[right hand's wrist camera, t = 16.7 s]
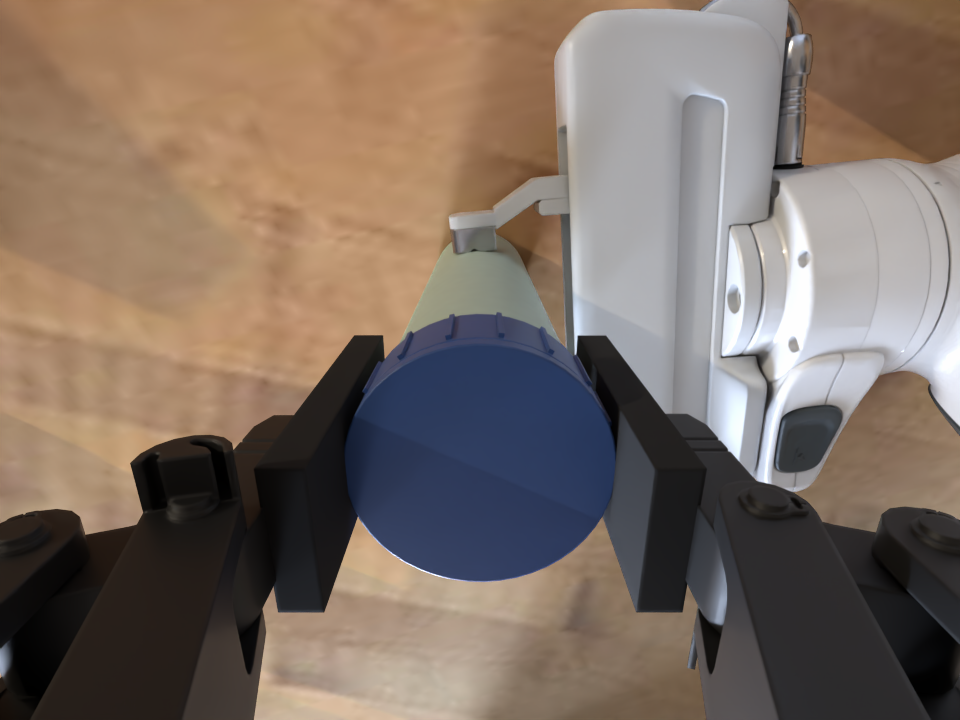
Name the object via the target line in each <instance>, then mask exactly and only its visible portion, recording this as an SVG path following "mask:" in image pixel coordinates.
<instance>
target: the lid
mask: <svg viewBox="0 0 960 720" xmlns="http://www.w3.org/2000/svg"><path fill="white" fill-rule="evenodd" d="M591 385H592V382H591V380H590V378H589V376H588V374H587V372H586V371H585V369H584V367H583V365H582V363H581V361H580V359H579V357H578V356H577V355H574V356H572V354H571V353H570V352H569V351H568V350H567V349H566V348H565V347H564V346H563V345H562V344H561V343H559V342H558V341H557V340H556V339H555V338H553V337H552V336H551V335H549V334H547V331H546V329H545V328H544V327H542V326H541V327H540V329H539V328H537V327H535V326H533V325H531V324H528V323H526V322H524V321H520V320H517V319H514V318H510V317H506V316H502V313H500V312H497V313H496V315H493V314H469V315H460V316H455V314H450V315H449V318H446V319H443V320H440V321H437V322H434V323H432V324H429V325H427V326H425V327H423V328H421V329H420V330H418V331H416V332H414V333H412V331H410V332H408V333H407V335H406V337H405V339H404V340H403V341H402V342H401V343H400V344H399V345H398V346H396V347H395V348H394V349H393V350H392V351H391V352H390V354H389V355H388V356H387V357H386V359H385V360H384V361H383V362H380V361H379V362H378V363H377V365H376V367H375V369H374V371H373V372H372V374H371V376H370V378H369V380H368V382H367V384H366V386H365V387H364V389H363V391H362V392H364V393H365V395H364V397H363V399H362V401H361V403H360V405H359V407H358V409H357V411H356V413H355V415H354V417H353V420H352V422H351V424H350V427H349V429H348V433H347V437H346V441H345V446H344V455H345V466H346V476H347V486H348V494H349V497H350V500H351V503H352V505H353V508H354V510H355V511H356V513H357V515H358V517H359V519H360V521H361V522H362V523H363V525H364V526H365V527H366V529H367V530H368V532H369V533H370V534H371V535H372V536H373V537H374V538H375V539H376V540H377V541H378V542H379V543H380V544H381V545H382V546H383V547H384V548H386V549H387V550H388V551H389V552H390V553H392V554H393V555H394V556H396V557H398V558H399V559H401V560H402V561H404V562H405V563H407V564H409V565H411V566H413V567H415V568H417V569H419V570H422V571H425V572H428V573H430V574H433V575H436V576H440V577H444V578H448V579H454V580H461V581H472V582H488V581H501V580H506V579H512V578H517V577H520V576H524V575H527V574H530V573H533V572H536V571H538V570H540V569H543V568H545V567H547V566H549V565H551V564H553V563H555V562H556V561H558V560H560V559H562V558H563V557H564V556H566V555H567V554H568V553H570V552H571V551H573V550H574V549H575V548H576V547H577V546H578V545H579V544H580V543H582V542H583V541H584V540H585V539H586V538H587V536H588V535H589V534H590V533H591V532H592V530H593V529H594V528H595V527H596V525H597V524H598V522H599V521H600V519H601V517H602V516H603V514H604V512H605V510H606V508H607V506H608V504H609V501H610V499H611V495H612V491H613V482H614V473H615V462H616V446H615V440H614V436H613V433H612V430H611V426H612V421H611V419H610V417H609V415H608V414H607V412H606V410H605V408H604V406H603V404H602V402H601V400H600V398H599V396H598V394H597V392H596V391H593V389H592V387H591Z"/></svg>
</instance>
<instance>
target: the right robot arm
mask: <svg viewBox="0 0 960 720" xmlns="http://www.w3.org/2000/svg"><path fill="white" fill-rule="evenodd" d="M576 355H577V356H578V357H579V359H580V361H581V363H582V365H583V367H584V369H585V371H586V372H587V374H588V376H589V378H590V380H591V382H592V385H591V387H592V389H593V391H596V392H597V394H598V396H599V398H600V400H601V402H602V404H603V406H604V408H605V410H606V412H607V414H608V415H609V417H610V419H611V421H612V426H611V430H612V433H613V436H614V440H615V446H616V462H615V473H614V482H613V491H612V495H611V499H610V501H609V504H608V506H607V508H606V510H605V512H604V514H603V519H604V522H605V524H606V527H607V530H608V533H609V536H610V539H611V541H612V544H613V547H614V550H615V553H616V556H617V559H618V561H619V564H620V567H621V570H622V573H623V576H624V578H625V581H626V584H627V587H628V590H629V593H630V595H631V598H632V601H633V604H634V607H635V610H636V612H683V606H684V600H685V594H686V588H687V584H688V586H689V588H690V590H691V592H692V594H693V596H694V598H695V600H696V602H697V604H698V609H697V615H696V620H695V626H694V631H693V636H692V642H691V647H690V653H689V659H688V667H687V668H691V669H695V666H696V660H697V657H698V663H699V670H700V677H701V684H702V692H703V699H704V706H705V713H706V720H960V520H958V519H956V518H955V517H953V516H951V515H949V514H946V513H942V512H936V511H935V510H931V509H926V508H922V509H921V508H912V507H898V508H890V509H888V510H887V511H886V512H884V513H883V514H882V515H881V518H880V522H879V525H878V528H877V531H876V533H875V532H870V531H864V530H859V529H854V528H849V527H843V526H838V525H833V524H829V523H825V522H822V521H821V519H820V517H819V515H818V514H817V512H816V511H815V510H814V508H813V507H812V506H811V505H810V504H809V503H808V502H807V501H806V500H804V499H803V498H801V497H799V496H798V495H796V494H795V493H793V492H791V491H789V490H786V489H784V488H781V487H779V486H776V485H773V484H768V483H764V482H759V481H756V480H755V479H754V478H753V476H752V475H751V474H750V473H749V472H748V471H747V470H746V469H745V467H744V466H743V465H742V464H741V463H740V462H739V461H738V460H737V458H736V457H735V456H734V455H733V454H732V453H731V452H728V448H727V447H726V446H725V445H724V444H723V443H722V441H721V440H718V437H717V436H716V435H715V434H714V432H713V431H712V430H711V429H710V428H709V427H708V426H707V425H706V424H704V423H703V422H701V421H699V420H697V419H696V418H694V417H692V416H690V415H689V414H665V413H664V411H663V410H662V409H661V407H660V406H659V405H658V403H657V402H656V401H655V399H654V398H653V397H652V395H651V394H650V393H649V391H648V390H647V389H646V387H645V386H644V385H643V383H642V382H641V381H640V379H639V378H638V377H637V376H636V374H635V373H634V372H633V370H632V369H631V368H630V366H629V365H628V364H627V362H626V361H625V360H624V358H623V357H622V356H621V354H620V353H619V352H618V350H617V349H616V348H615V346H614V345H613V344H612V342H611V341H610V340H609V339H608V337H607V336H606V335H578V337H577V352H576ZM384 360H385V358H384V343H383V335H354V337H353V338H352V339H351V341H350V342H349V343H348V345H347V346H346V347H345V349H344V350H343V351H342V353H341V354H340V355H339V356H338V358H337V359H336V360H335V362H334V363H333V364H332V366H331V367H330V368H329V370H328V371H327V372H326V374H325V375H324V376H323V378H322V379H321V380H320V382H319V383H318V384H317V386H316V387H315V388H314V390H313V391H312V392H311V394H310V395H309V396H308V397H307V399H306V400H305V401H304V403H303V404H302V405H301V407H300V408H299V409H298V411H297V412H296V413H295V415H273V416H272V417H270V418H268V419H267V420H265V421H263V422H261V423H260V424H258V425H256V426H254V427H253V428H252V430H251V431H250V432H249V433H248V434H247V435H246V436H245V438H244V439H243V442H240V443H239V444H238V446H237V447H236V448H235V449H234V450H233V446H232V443H231V442H230V441H228V440H227V439H226V438H224V437H219V436H214V435H194V436H188V437H183V438H178V439H173V440H170V441H167V442H164V443H162V444H159V445H156V446H154V447H152V448H150V449H148V450H146V451H145V452H143V453H141V454H140V455H139V456H137V457H136V458H135V459H134V460H133V461H132V462H131V463H130V464H131V468H132V472H133V475H134V479H135V483H136V487H137V491H138V494H139V498H140V502H141V506H142V510H143V514H142V516H141V518H140V520H139V522H138V524H137V525H134V526H130V527H125V528H120V529H114V530H109V531H104V532H98V533H93V534H88V535H85V532H84V529H83V526H82V522H81V519H80V517H79V516H78V515H77V514H75V513H74V512H72V511H68V510H60V509H53V510H44V511H33V512H29V513H26V514H25V515H23V514H21V515H18V516H14V517H12V518H9V519H8V520H7V521H5V522H2V523H0V673H1V676H2V677H1V678H0V720H254V714H255V707H256V700H257V693H258V686H259V679H260V672H261V665H262V657H263V650H264V643H265V636H266V628H265V620H264V615H263V609H262V608H263V606H264V604H265V602H266V600H267V598H268V596H269V594H270V592H271V590H272V588H273V586H274V591H275V597H276V603H277V608H278V612H324V611H325V608H326V606H327V603H328V600H329V597H330V594H331V591H332V589H333V586H334V583H335V580H336V577H337V574H338V571H339V569H340V566H341V563H342V560H343V557H344V554H345V552H346V549H347V546H348V543H349V540H350V537H351V534H352V532H353V529H354V526H355V523H356V520H357V517H358V515H357V513H356V511H355V510H354V508H353V505H352V503H351V500H350V497H349V494H348V486H347V476H346V466H345V455H344V446H345V441H346V437H347V433H348V429H349V427H350V424H351V422H352V420H353V417H354V415H355V413H356V411H357V409H358V407H359V405H360V403H361V401H362V399H363V397H364V395H365V393H364V392H362V391H363V389H364V387H365V386H366V384H367V382H368V380H369V378H370V376H371V374H372V372H373V371H374V369H375V367H376V365H377V363H378V362H379V361H380V362H383V361H384Z"/></svg>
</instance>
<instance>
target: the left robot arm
mask: <svg viewBox="0 0 960 720" xmlns="http://www.w3.org/2000/svg"><path fill="white" fill-rule="evenodd" d="M787 25H788V27H789V32H790V37H787V38H786V29H787ZM812 62H813V40H812V35H811V34H803V27H802V22H801V18H800V16H799V14H798V11H797V10H796V8H795V7H794V6H793V4H792V3H791V2H790V1H789V0H713V1H711V2H709V3H708V4H706V5H705V6H704V7H702V8H701V9H700V10H699V11H692V10H675V9H622V10H607V11H599V12H595V13H592V14H590V15H588V16H586V17H584V18H583V19H582V20H581V21H580V22H579V23H578V24H577V25H576V26H575V27H574V28H573V29H572V30H571V31H570V33H569V34H568V35H567V36H566V38H565V39H564V41H563V42H562V44H561V45H560V47H559V49H558V51H557V53H556V56H555V61H554V70H555V96H556V120H557V144H558V168H559V175H555V176H545V177H536V178H531V179H529V180H528V181H527V182H525V183H524V184H523V185H521V186H520V187H518V188H517V189H516V190H514V191H513V192H512V193H510V194H509V195H508V196H506V197H505V198H504V199H502V200H501V201H500V202H498V203H497V204H495V205H494V206H493V209H492V210H482V211H472V212H462V213H456V214H450V216H449V223H450V232H451V239H452V247H453V253H455V254H463V253H468V252H471V251H472V250H473V249H476V250H478V251H494V250H497V248H496V232H495V227H496V229H498V228H499V227H501V226H502V225H504V224H505V223H507V222H508V221H509V220H511V219H512V218H514V217H515V216H516V215H518V214H519V213H521V212H522V211H523V210H525V209H526V208H528V207H529V206H530V205H532V204H533V203H534V210H535V211H536V212H538V213H539V214H541V215H542V216H546V215H558V214H560V216H561V240H562V265H563V289H564V313H565V337H566V349H567V350H568V351H569V352H570V353H571V354H572V356H574V355H576V352H577V337H578V335H606V336H607V337H608V339H609V340H610V341H611V342H612V344H613V345H614V346H615V348H616V349H617V350H618V352H619V353H620V354H621V356H622V357H623V358H624V360H625V361H626V362H627V364H628V365H629V366H630V368H631V369H632V370H633V372H634V373H635V374H636V376H637V377H638V378H639V379H640V381H641V382H642V383H643V385H644V386H645V387H646V389H647V390H648V391H649V393H650V394H651V395H652V397H653V398H654V399H655V401H656V402H657V403H658V405H659V406H660V407H661V409H662V410H663V411H664V413H665V414H689V415H690V416H692V417H694V418H696V419H697V420H699V421H701V422H703V423H704V424H706V425H707V426H708V427H709V428H710V429H711V430H712V431H713V432H714V434H715V435H716V436H717V437H718V440H721V441H722V443H723V444H724V445H725V446H726V447H727V448H728V452H731V453H732V454H733V455H734V456H735V457H736V458H737V460H738V461H739V462H740V463H741V464H742V465H743V466H744V467H745V469H746V470H747V471H748V472H749V473H750V474H751V475H752V476H753V477H754V478H755V479H756V480H757V481H759V482H764V483H768V484H773V485H776V486H779V487H781V488H784V489H786V490H789V491H791V492H796V491H800V490H803V489H806V488H807V487H809V486H810V485H811V484H812V483H813V482H814V481H815V480H816V478H817V476H818V475H819V473H820V471H821V469H822V467H823V465H824V463H825V461H826V459H827V457H828V455H829V454H830V452H831V450H832V448H833V446H834V444H835V442H836V440H837V439H838V437H839V435H840V433H841V431H842V430H843V428H844V426H845V425H846V423H847V421H848V420H849V418H850V416H851V415H852V413H853V412H854V410H855V409H856V407H857V406H858V404H859V403H860V401H861V400H862V398H863V397H864V396H865V394H866V393H867V392H868V390H869V389H870V388H871V386H872V385H873V384H874V382H875V381H876V379H877V378H878V376H879V375H883V374H887V373H891V372H897V371H910V372H914V373H916V374H918V375H920V376H922V377H924V378H926V379H927V380H928V381H929V382H930V384H929V386H928V391H929V394H930V396H931V398H932V399H933V401H934V403H935V404H936V406H937V407H938V409H939V410H940V412H941V413H942V414H943V416H944V417H945V418H946V420H947V421H948V422H949V423H950V424H951V426H952V427H953V428H954V429H955V431H956V432H957V433H958V434H959V436H960V154H957V155H954V156H952V157H949V158H947V159H944V160H942V161H939V162H936V163H930V164H922V163H918V162H914V161H910V160H903V159H895V158H878V159H867V160H857V161H847V162H837V163H826V164H816V165H805V166H804V165H802V156H803V146H804V137H805V127H806V114H805V112H806V106H805V104H806V98H805V96H806V89H805V88H806V87H807V80H808V75H809V74H810V73H811V68H812Z"/></svg>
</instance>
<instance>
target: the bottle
mask: <svg viewBox="0 0 960 720" xmlns="http://www.w3.org/2000/svg"><path fill="white" fill-rule="evenodd" d="M496 248H497V250H494V251H478V250H476V249H473V250H472V251H471V252H468V253H463V254H455V253H453V247H452V242H451V243H449V244H448V246H447V247H446V248H445V249H444V250H443V252H442V253H441V255H440V257H439V259H438V261H437V264H436V266H435V268H434V270H433V272H432V274H431V277H430V279H429V281H428V283H427V285H426V287H425V290H424V292H423V294H422V296H421V298H420V300H419V302H418V305H417V307H416V309H415V311H414V313H413V315H412V318H411V320H410V322H409V324H408V326H407V328H406V330H405V333H404V335H403V337H402V339H401V341H400V343H401V342H402V341H403V340H404V339H405V337H406V335H407V333H408V332H410V331H412V333H414V332H416V331H418V330H420V329H421V328H423V327H425V326H427V325H429V324H432V323H434V322H437V321H440V320H443V319H446V318H449V315H450V314H455V316H460V315H469V314H493V315H496V313H497V312H500V313H502V316H506V317H510V318H514V319H517V320H520V321H524V322H526V323H528V324H531V325H533V326H535V327H537V328H539V329H540V327H541V326H542V327H544V328H545V329H546V331H547V334H549V335H551V336H552V337H553V338H555V339H556V340H557V341H558V342H559V343H560V341H559V339H558V337H557V334H556V332H555V330H554V328H553V326H552V324H551V322H550V319H549V317H548V315H547V313H546V311H545V309H544V306H543V304H542V302H541V300H540V298H539V296H538V294H537V291H536V289H535V287H534V285H533V283H532V281H531V278H530V276H529V274H528V272H527V270H526V268H525V266H524V263H523V261H522V259H521V257H520V255H519V253H518V252H517V250H516V249H515V248H514V246H513V245H512V244H511V243H510V242H508V241H507V240H506V239H504V238H502V237H501V236H499V235H496ZM400 343H399V344H400Z"/></svg>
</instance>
